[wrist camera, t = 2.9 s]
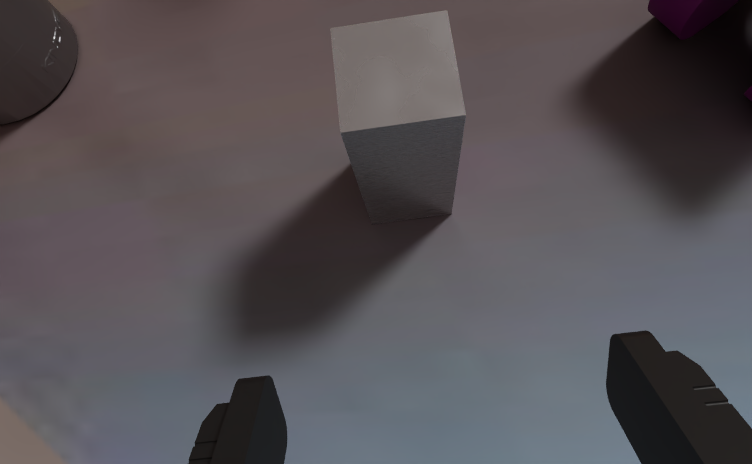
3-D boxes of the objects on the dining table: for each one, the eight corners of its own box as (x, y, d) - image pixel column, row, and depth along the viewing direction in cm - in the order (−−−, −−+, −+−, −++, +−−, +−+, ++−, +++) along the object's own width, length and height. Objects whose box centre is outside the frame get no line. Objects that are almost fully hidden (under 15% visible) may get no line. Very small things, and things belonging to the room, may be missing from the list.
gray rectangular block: (451, 214, 29) (465, 114, 18) (371, 224, 29) (340, 132, 18) (440, 141, 30) (447, 10, 19) (363, 152, 30) (330, 28, 20)
